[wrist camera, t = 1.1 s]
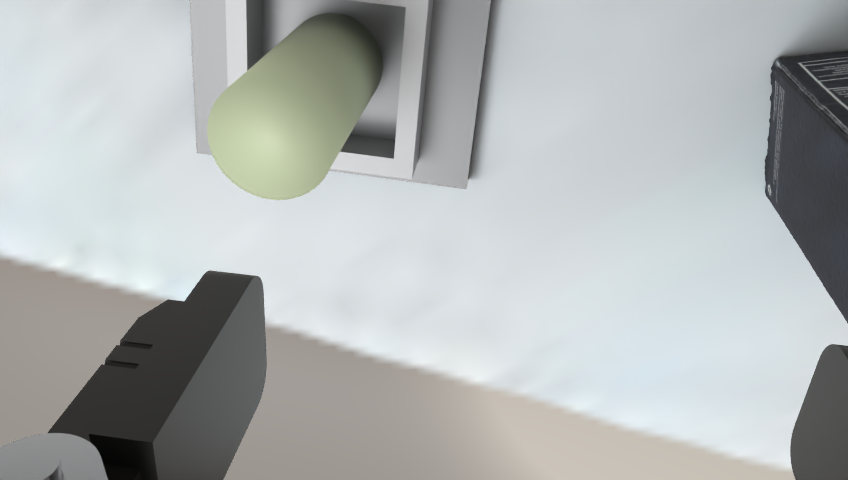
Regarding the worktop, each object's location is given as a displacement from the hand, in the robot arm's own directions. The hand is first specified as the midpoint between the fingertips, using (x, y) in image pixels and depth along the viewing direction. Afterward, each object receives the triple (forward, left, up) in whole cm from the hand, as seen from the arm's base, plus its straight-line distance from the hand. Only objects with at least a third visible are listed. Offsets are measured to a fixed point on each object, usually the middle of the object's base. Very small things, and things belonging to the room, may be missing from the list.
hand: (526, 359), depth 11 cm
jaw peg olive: (+3, -8, -22) cm, 23 cm away
